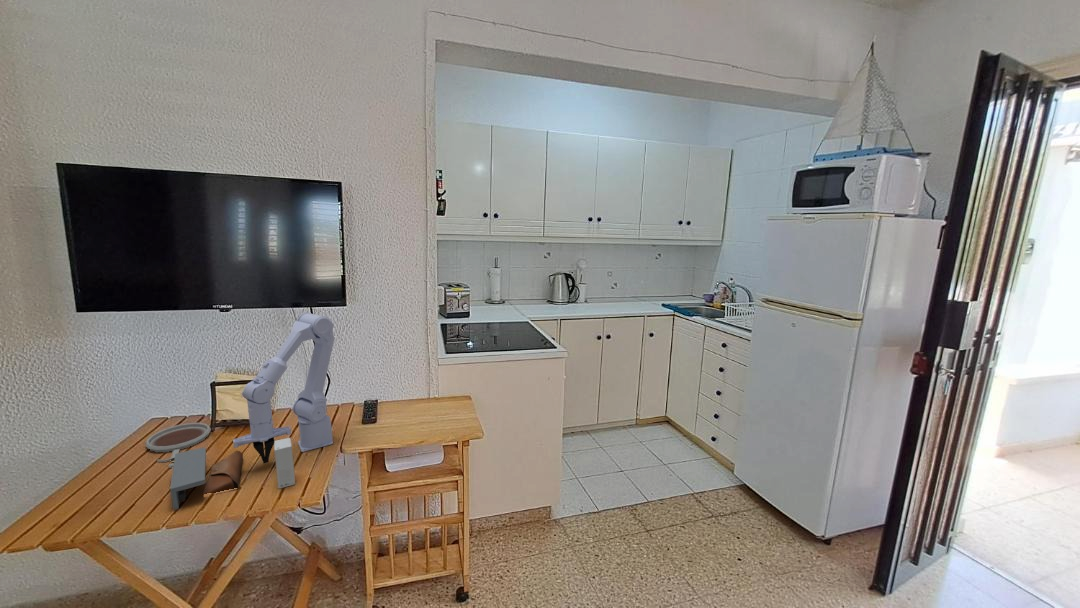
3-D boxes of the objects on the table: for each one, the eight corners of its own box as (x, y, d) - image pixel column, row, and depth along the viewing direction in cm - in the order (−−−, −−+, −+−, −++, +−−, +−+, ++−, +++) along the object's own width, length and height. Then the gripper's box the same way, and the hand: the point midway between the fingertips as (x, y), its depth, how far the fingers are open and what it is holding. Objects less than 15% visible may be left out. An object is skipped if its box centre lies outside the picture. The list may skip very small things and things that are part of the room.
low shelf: (208, 465, 131) (205, 446, 129) (207, 500, 115) (204, 479, 114) (178, 472, 126) (175, 453, 125) (173, 510, 111) (170, 489, 110)
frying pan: (132, 471, 124) (149, 428, 146) (133, 480, 124) (150, 436, 147) (206, 454, 133) (212, 417, 155) (207, 463, 133) (213, 424, 156)
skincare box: (295, 484, 122) (291, 446, 120) (278, 489, 120) (274, 450, 118) (294, 473, 128) (290, 436, 125) (277, 478, 125) (273, 440, 123)
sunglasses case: (209, 465, 131) (220, 445, 131) (234, 470, 134) (246, 450, 135) (201, 498, 116) (214, 476, 116) (230, 503, 119) (242, 481, 120)
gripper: (231, 432, 121) (237, 475, 123) (290, 419, 129) (294, 460, 132) (231, 422, 126) (236, 464, 129) (287, 410, 135) (291, 449, 138)
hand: (265, 461), depth 131 cm, fingers closed
